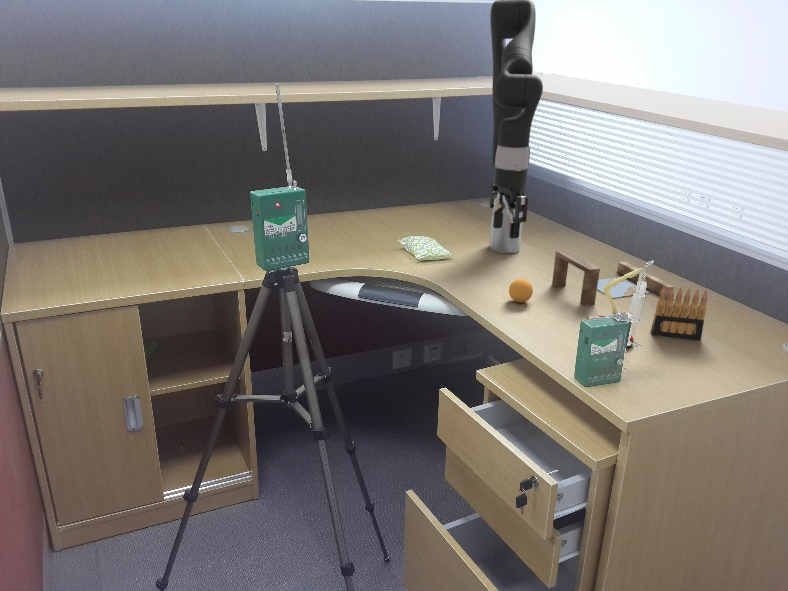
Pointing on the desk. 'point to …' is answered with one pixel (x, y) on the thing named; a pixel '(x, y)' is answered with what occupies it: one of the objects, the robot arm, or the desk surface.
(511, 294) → the ball
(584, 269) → the bridge
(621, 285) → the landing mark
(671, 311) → the ammunition clip
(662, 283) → the stopper wall
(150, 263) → the desk surface
